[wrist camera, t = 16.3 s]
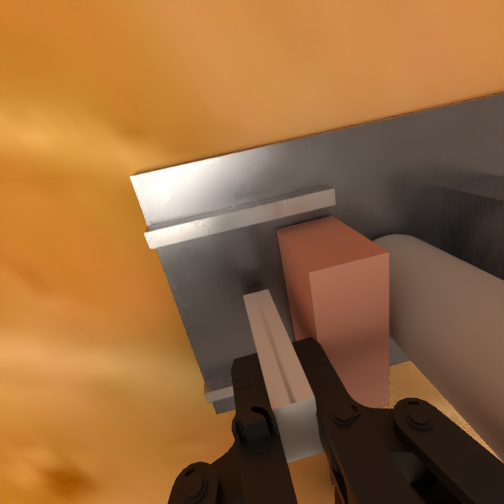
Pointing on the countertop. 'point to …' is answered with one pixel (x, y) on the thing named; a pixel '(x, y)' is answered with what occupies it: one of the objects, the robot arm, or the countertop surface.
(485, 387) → the beverage can
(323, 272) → the block
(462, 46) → the countertop surface
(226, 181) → the grey vise base
